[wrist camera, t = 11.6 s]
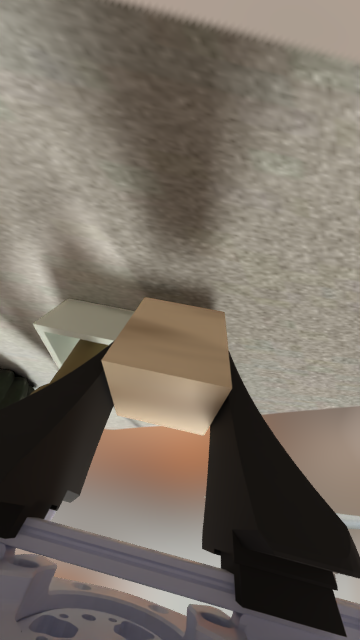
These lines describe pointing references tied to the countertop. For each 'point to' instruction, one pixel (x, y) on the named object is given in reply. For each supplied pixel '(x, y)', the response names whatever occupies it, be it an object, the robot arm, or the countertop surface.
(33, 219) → the countertop surface
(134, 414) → the maple cube
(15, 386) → the squash
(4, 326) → the countertop surface
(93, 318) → the tote
